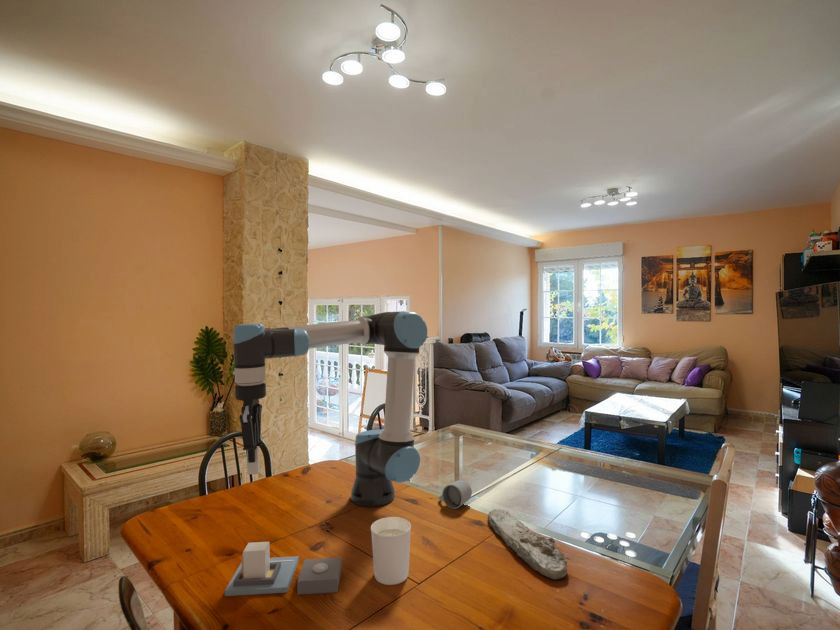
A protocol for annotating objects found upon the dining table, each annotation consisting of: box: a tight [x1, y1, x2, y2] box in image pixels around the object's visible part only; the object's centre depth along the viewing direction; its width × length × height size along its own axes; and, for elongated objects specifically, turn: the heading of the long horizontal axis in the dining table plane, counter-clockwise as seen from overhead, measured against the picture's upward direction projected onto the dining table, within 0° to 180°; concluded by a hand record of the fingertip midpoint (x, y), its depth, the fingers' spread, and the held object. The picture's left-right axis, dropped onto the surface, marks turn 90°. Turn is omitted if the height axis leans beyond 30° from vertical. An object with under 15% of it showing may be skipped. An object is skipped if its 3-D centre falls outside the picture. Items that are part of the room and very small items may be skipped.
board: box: [224, 555, 300, 597], centre depth 107 cm, size 14×13×2 cm
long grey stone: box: [487, 509, 568, 580], centre depth 121 cm, size 35×5×10 cm
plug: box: [241, 541, 271, 579], centre depth 105 cm, size 6×4×7 cm
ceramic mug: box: [438, 479, 473, 510], centre depth 148 cm, size 11×8×8 cm
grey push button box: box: [296, 557, 342, 595], centre depth 105 cm, size 9×9×3 cm
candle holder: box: [370, 516, 412, 586], centre depth 107 cm, size 10×10×12 cm
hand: (253, 473), depth 115 cm, fingers closed
